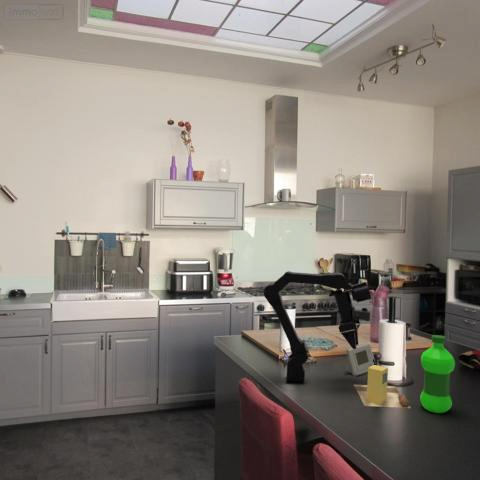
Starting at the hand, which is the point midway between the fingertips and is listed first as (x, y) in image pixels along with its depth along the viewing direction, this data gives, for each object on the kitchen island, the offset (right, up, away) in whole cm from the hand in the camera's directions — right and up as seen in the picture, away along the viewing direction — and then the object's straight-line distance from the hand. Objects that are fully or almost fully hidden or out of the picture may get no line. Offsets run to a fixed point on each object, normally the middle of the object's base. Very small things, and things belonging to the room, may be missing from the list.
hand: (355, 346), depth 183 cm
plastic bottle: (+21, -17, -20) cm, 34 cm away
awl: (+12, -16, -14) cm, 24 cm away
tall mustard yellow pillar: (+4, -15, -14) cm, 21 cm away
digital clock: (+7, -15, +21) cm, 26 cm away
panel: (+7, -16, -9) cm, 19 cm away
